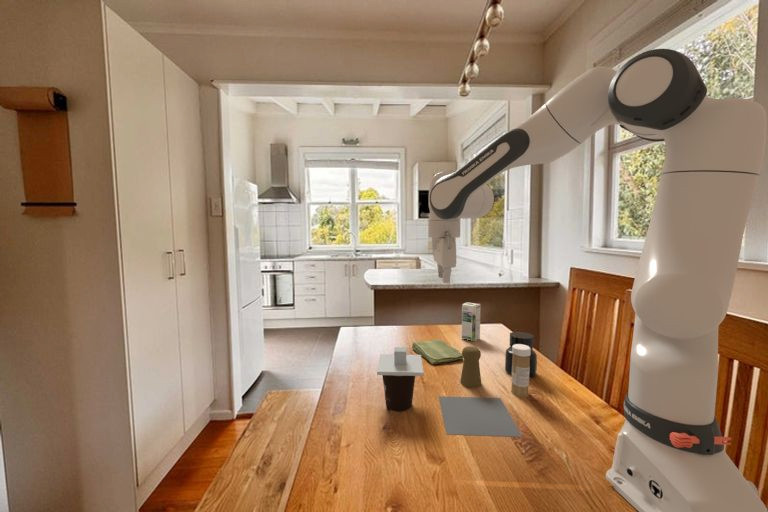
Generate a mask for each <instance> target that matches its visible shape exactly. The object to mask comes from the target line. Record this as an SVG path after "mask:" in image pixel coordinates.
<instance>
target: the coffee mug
mask: <svg viewBox="0 0 768 512" xmlns="http://www.w3.org/2000/svg"><path fill="white" fill-rule="evenodd" d="M381 376H382V382H383V391H384V400H385V407H386V409H387V411H388V412H391V411H393V412H398V413H399V412H405V411H408V410H410V409H411V408H412V406H413V398H414V397H413V396H414V391H415V383H416V376H404V375H381Z"/></svg>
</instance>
